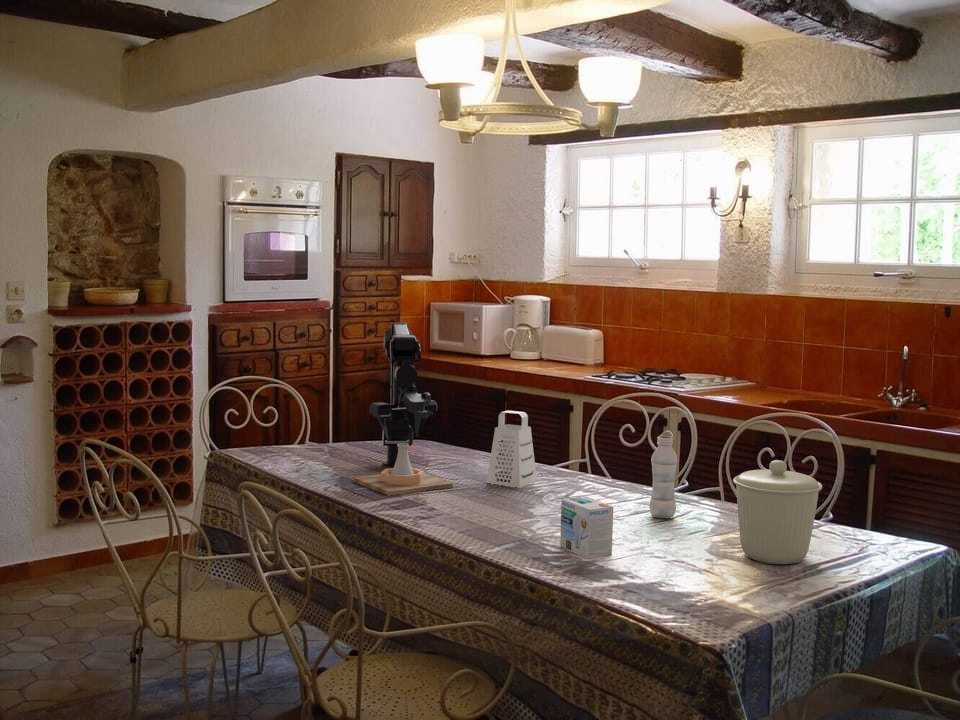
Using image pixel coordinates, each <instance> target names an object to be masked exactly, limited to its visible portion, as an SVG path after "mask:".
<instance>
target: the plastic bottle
mask: <svg viewBox="0 0 960 720" xmlns="http://www.w3.org/2000/svg"><path fill="white" fill-rule="evenodd" d="M656 444H657V447H656V448H655V450H654V452H653V453H652V455H651V459H650V460H651V467H652V468H651V470H652V471H651V472H652V488H651V498H650V501H649V505H648V506H649V507H648V508H649V512H650V515H651V516H652V517H654V518H658V519H672V518H673V517H674V516H675V515H676V509H677V503H676V499H675V497H676V496H675V494H676V493H675V483H676V482H675V481H676V473H677V472H676V471H677V467H678V460H679V458H678V455H677V453H676V452H675V450H674V448H673V445H674V442H673V436H670V435H669V436H668V435H660V436H657V442H656Z"/></svg>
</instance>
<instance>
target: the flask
mask: <svg viewBox="0 0 960 720" xmlns="http://www.w3.org/2000/svg"><path fill="white" fill-rule="evenodd" d="M397 446H398V455H397V460H396V463H395V466H394V467H392V468H393V471H392V474H391V475H413V474H414V473H413V470H412V468H413V467H412V463H411V461H410V458H409V451H408V449H409V447H410V446H409V445H408V444H398V445H397Z"/></svg>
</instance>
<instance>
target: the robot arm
mask: <svg viewBox="0 0 960 720" xmlns="http://www.w3.org/2000/svg"><path fill="white" fill-rule="evenodd" d="M409 327H410V326H409V323H407V322H393V323H391V324H390V327H389V328H388V329H386V330H385V331H384V332H383V333H384V334H383V350H385V355H386V357H387V359H388V360H389V363H390V403H386V402H383V401H382V402H371V403H370V405H369V406H368V413H369V414H371V415H373V417H376V418H377V420H378V422H379V424H380V426H381V428H382V435H381V436H382V442H381V443H382V446H383V447H386V461H383V462H381V464H382V465H384V466H387V467H390V468H394V466H395V463H396V460H397V455H398V446H397V445H398V444H408V445H409V447H411V446H413V444H414V443H413V440H414V433H415V436H416V438H419V437H420V435H421V432H422V431H423V427H424V424H425V423H426V420H427V419H428V417H430V415H433V414H434V412H438V403H437V402H436V400H432V394H430V393H429V392H423V393H419V392H418V388H417V385H415V383H416V382H417V380H418V371H417V369H416V368H415V363H420V360H421V359H422V349H421V344H420V341H419V340H418V339H417V338H416V336H415V335H413V331H412V330H411V329H410V328H409ZM405 411H408V412H409V413H413V415H414V417H413V418H414V430H413V429H412V428H413V427H412V426H411V425H410V420H409V419H408V416H407V415H406V414H405Z"/></svg>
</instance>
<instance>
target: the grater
mask: <svg viewBox="0 0 960 720" xmlns="http://www.w3.org/2000/svg"><path fill="white" fill-rule="evenodd" d="M507 413H508V414H518V415H519V416H520V417H521V425H519V424H508V423H507V424H506V423H505V422H506V414H507ZM528 421H529V415H528V414H527V412H525V411H517V410H505V411H501V412H500V413H499V414H498V425H497V426H496V427H494V434H493V440H492V444H491V445H492V446H491V453H490V459H489V466H488V473H487V478H486V484H487V483H491V484H490V485H494V484H499V485H498V486H501V485H505V486H504V487H508V486H510V487H509V488H515V487H517V488H516V489H521V488H524V487H526V486H525V485H527V486H529V485H531V484H530V483H532V484H534V483H536V481H538V480H537V479H538V478H537V472H536V462H535V454H534V452H535V451H534V445H533V436H532V427H531V426H529V425H528V424H529V422H528ZM504 476H505V477H504ZM509 477H512V478H509ZM501 480H502V481H501ZM505 480H506V482H505ZM509 481H510V482H509ZM533 482H534V483H533ZM528 484H529V485H528ZM523 486H524V487H523Z"/></svg>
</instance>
